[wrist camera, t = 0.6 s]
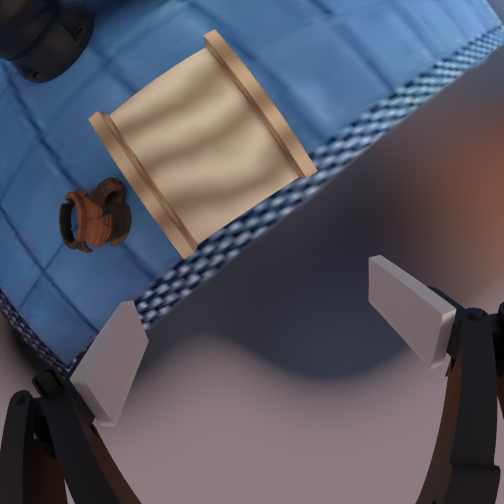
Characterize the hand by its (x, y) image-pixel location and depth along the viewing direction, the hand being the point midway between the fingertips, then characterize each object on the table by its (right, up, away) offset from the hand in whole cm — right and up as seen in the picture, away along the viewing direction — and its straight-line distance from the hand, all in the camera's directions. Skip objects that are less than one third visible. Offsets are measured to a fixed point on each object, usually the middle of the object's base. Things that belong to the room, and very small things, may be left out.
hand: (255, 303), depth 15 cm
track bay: (-7, +17, +20) cm, 27 cm away
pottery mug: (-21, +9, +21) cm, 31 cm away
